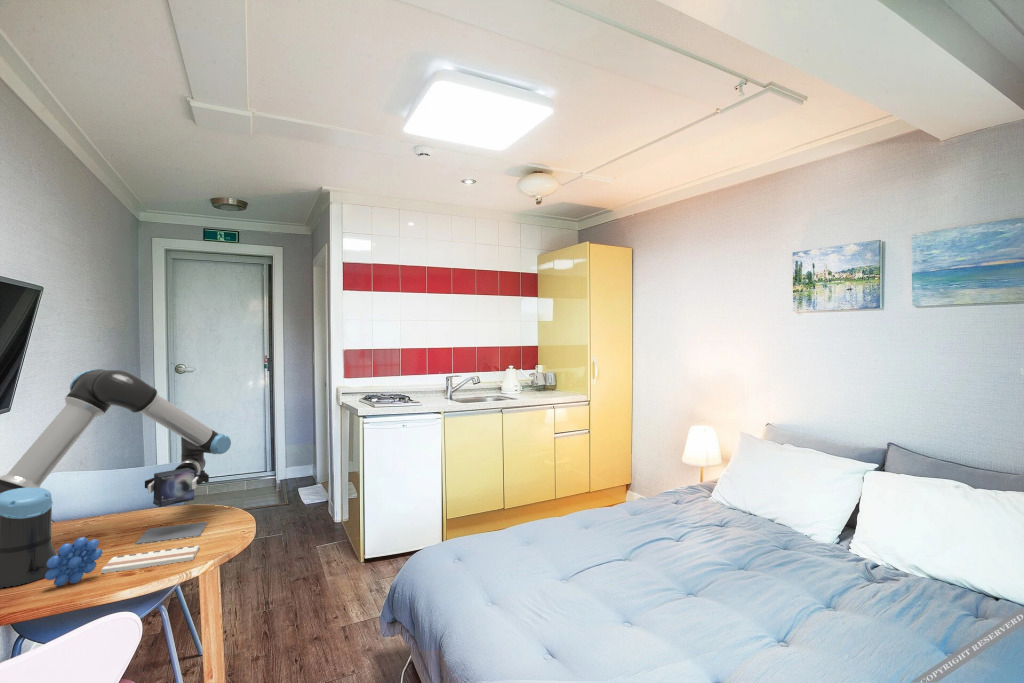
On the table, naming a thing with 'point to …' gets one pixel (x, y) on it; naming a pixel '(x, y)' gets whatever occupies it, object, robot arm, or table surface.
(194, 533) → the mat
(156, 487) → the small box
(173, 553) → the board
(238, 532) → the table surface
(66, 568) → the blue bumpy cluster
